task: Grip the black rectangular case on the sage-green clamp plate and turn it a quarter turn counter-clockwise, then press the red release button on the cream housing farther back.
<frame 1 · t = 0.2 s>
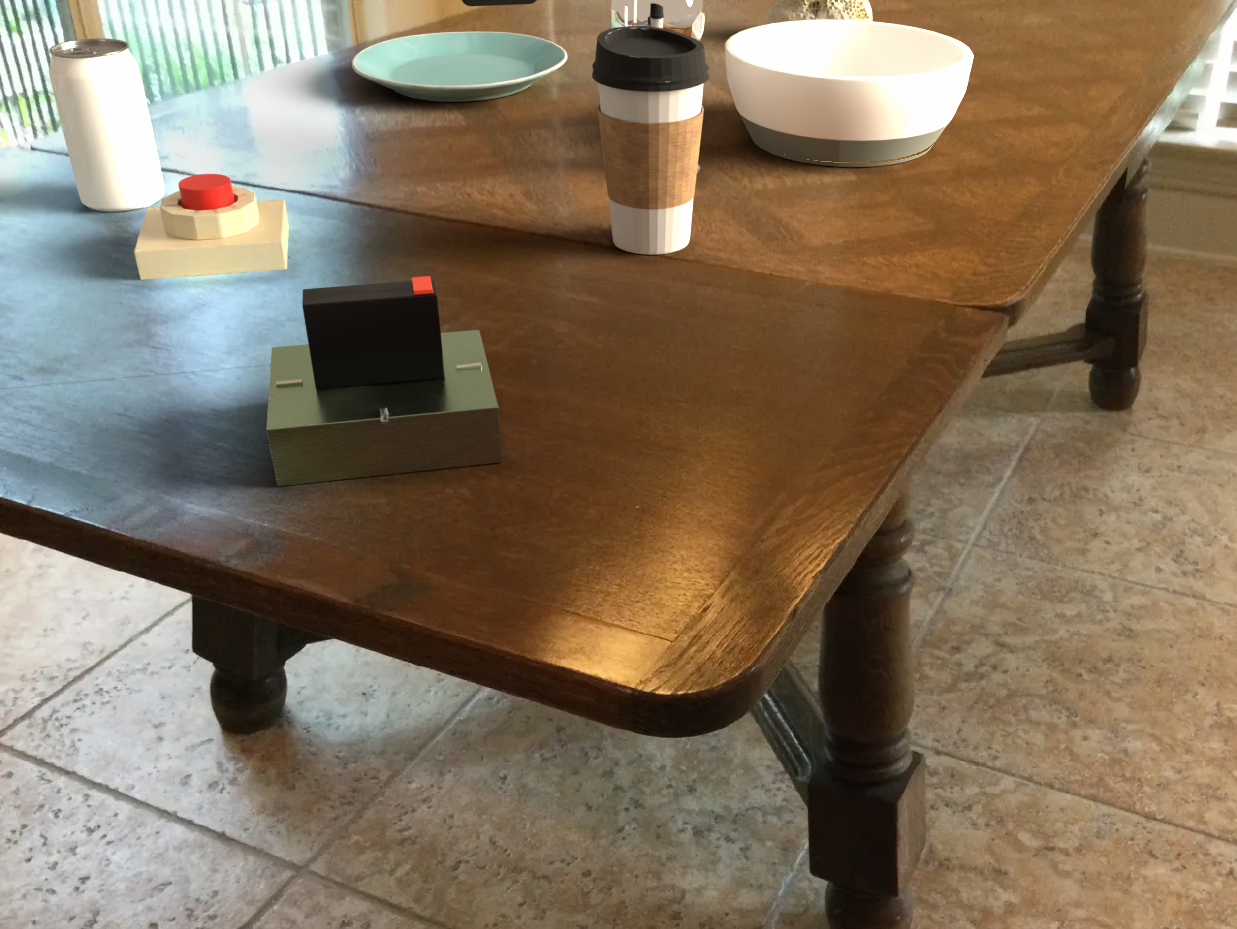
clamp plate: (387, 430, 75), on the table
wineglass: (657, 173, 114), on the table
release button: (206, 193, 94), point 4 cm above the table, slide at 0.1 cm
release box: (218, 252, 97), on the table
plate: (462, 84, 137), on the table
decorative item: (819, 43, 155), on the table
can: (125, 202, 106), on the table
black rectangular case: (374, 332, 71), point 6 cm above the table, hinge at 0.0°
bowl: (841, 140, 123), on the table
coffee cup: (651, 243, 100), on the table
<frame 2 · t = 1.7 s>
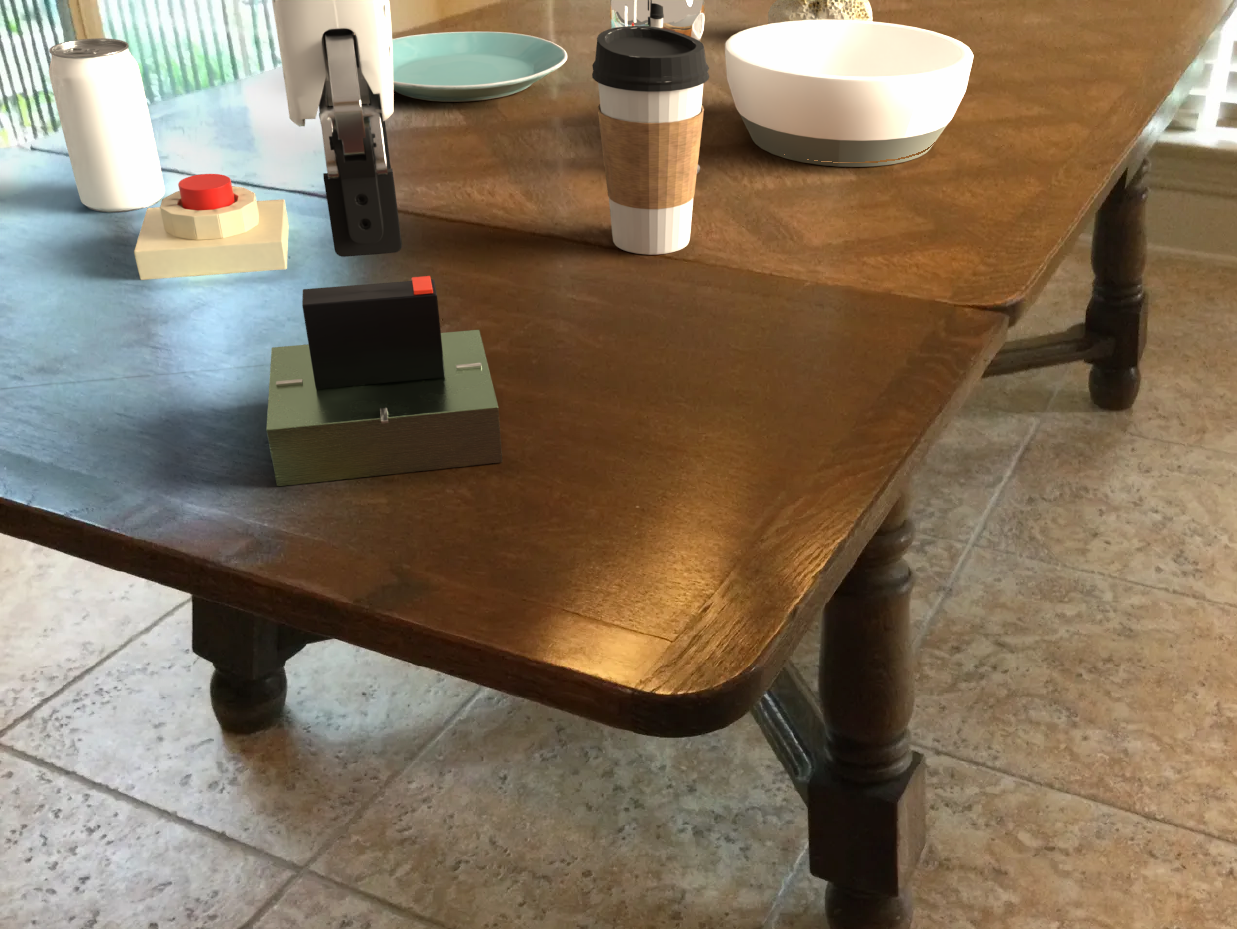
hand: (366, 218, 68), 13 cm above the table, tool pointing down, fingers open, 9 cm apart
nothing on the table moved.
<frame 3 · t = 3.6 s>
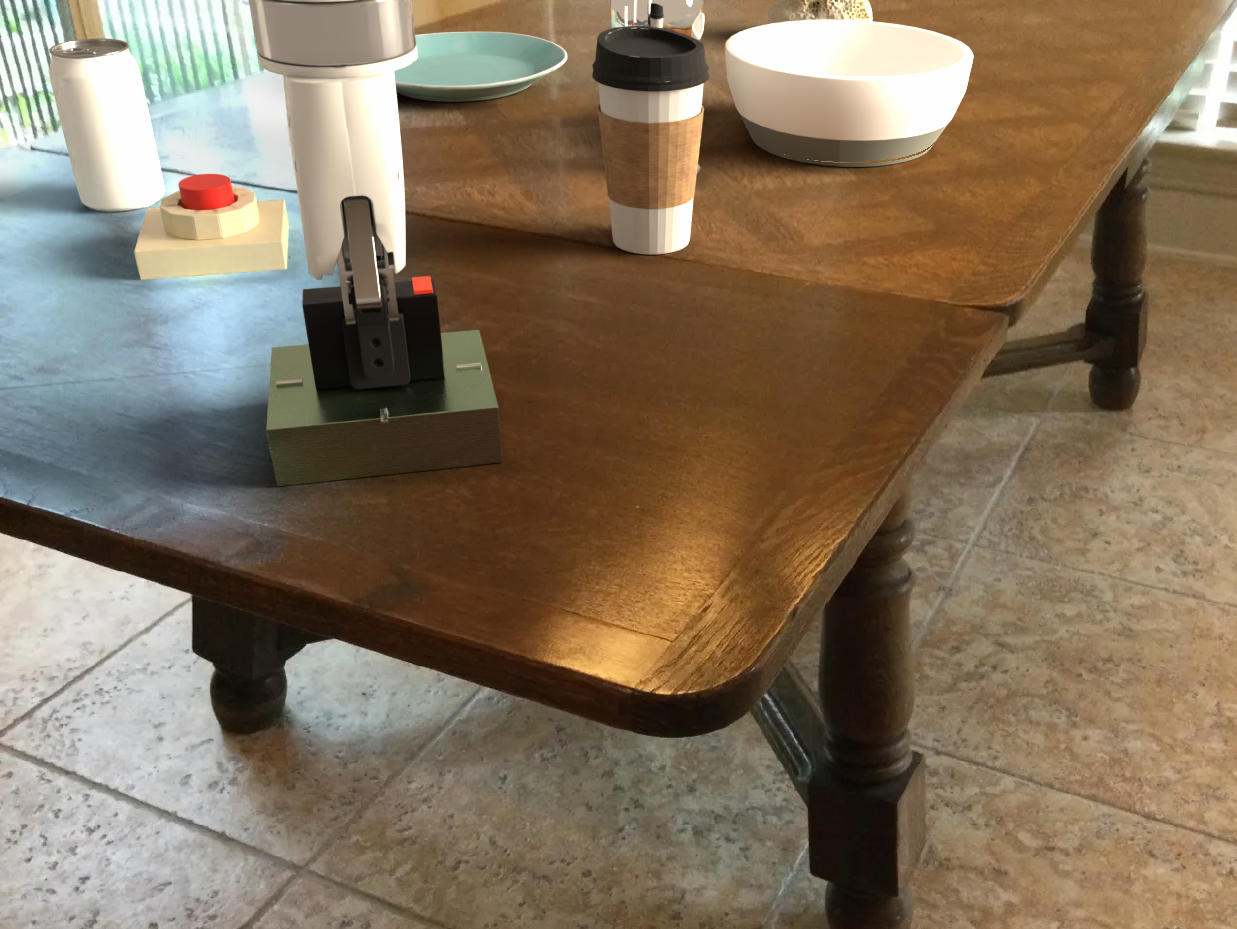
hand: (379, 369, 73), 4 cm above the table, tool pointing down, fingers closed on black rectangular case, 2 cm apart
black rectangular case: (374, 332, 71), point 6 cm above the table, hinge at 0.0°, touching gripper
everything else where it was.
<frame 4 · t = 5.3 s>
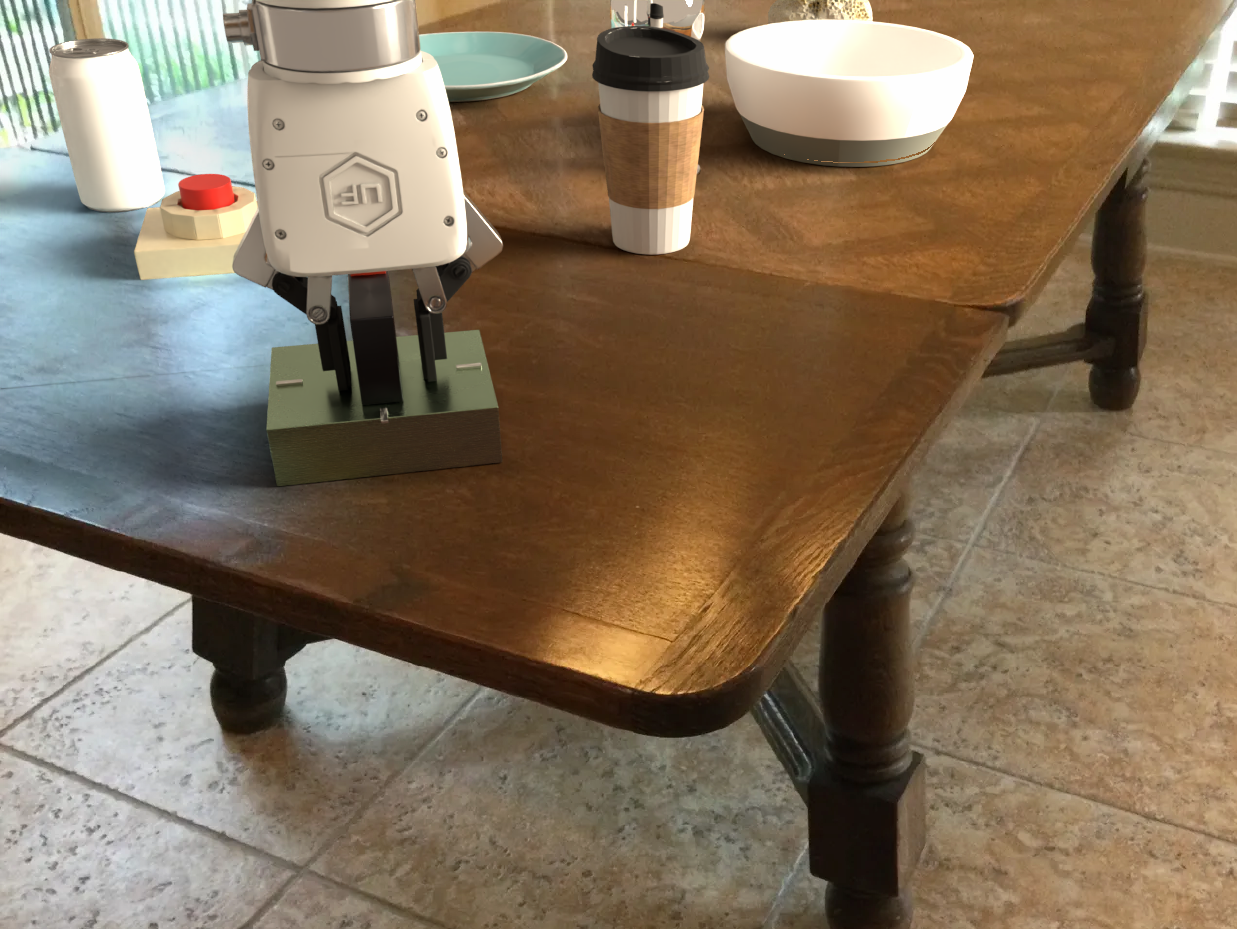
hand: (386, 372, 73), 4 cm above the table, tool pointing down, fingers open, 4 cm apart
black rectangular case: (374, 332, 71), point 6 cm above the table, hinge at 89.9°
everything else where it was.
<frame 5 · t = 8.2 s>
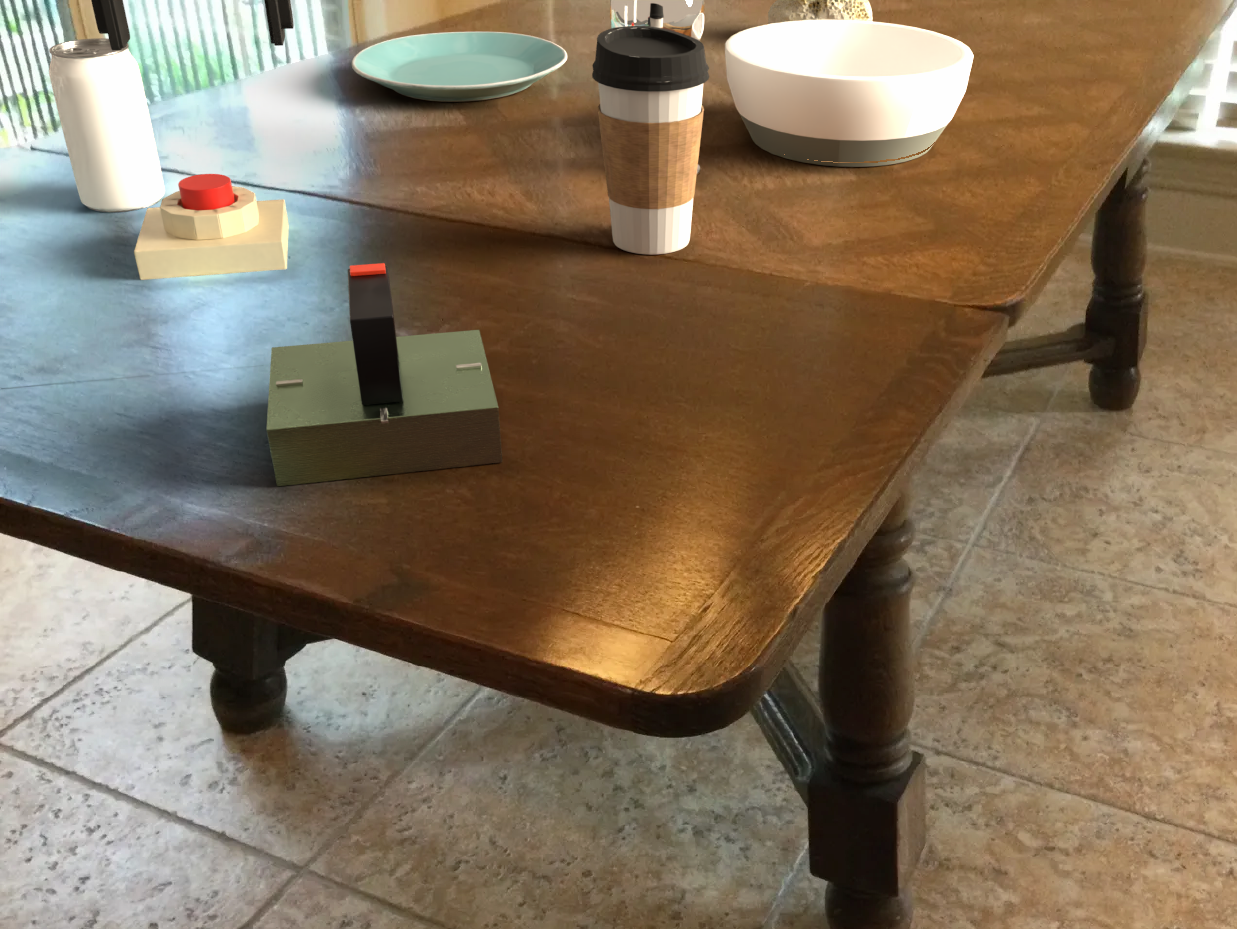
hand: (200, 43, 84), 16 cm above the table, tool pointing down, fingers open, 9 cm apart
nothing on the table moved.
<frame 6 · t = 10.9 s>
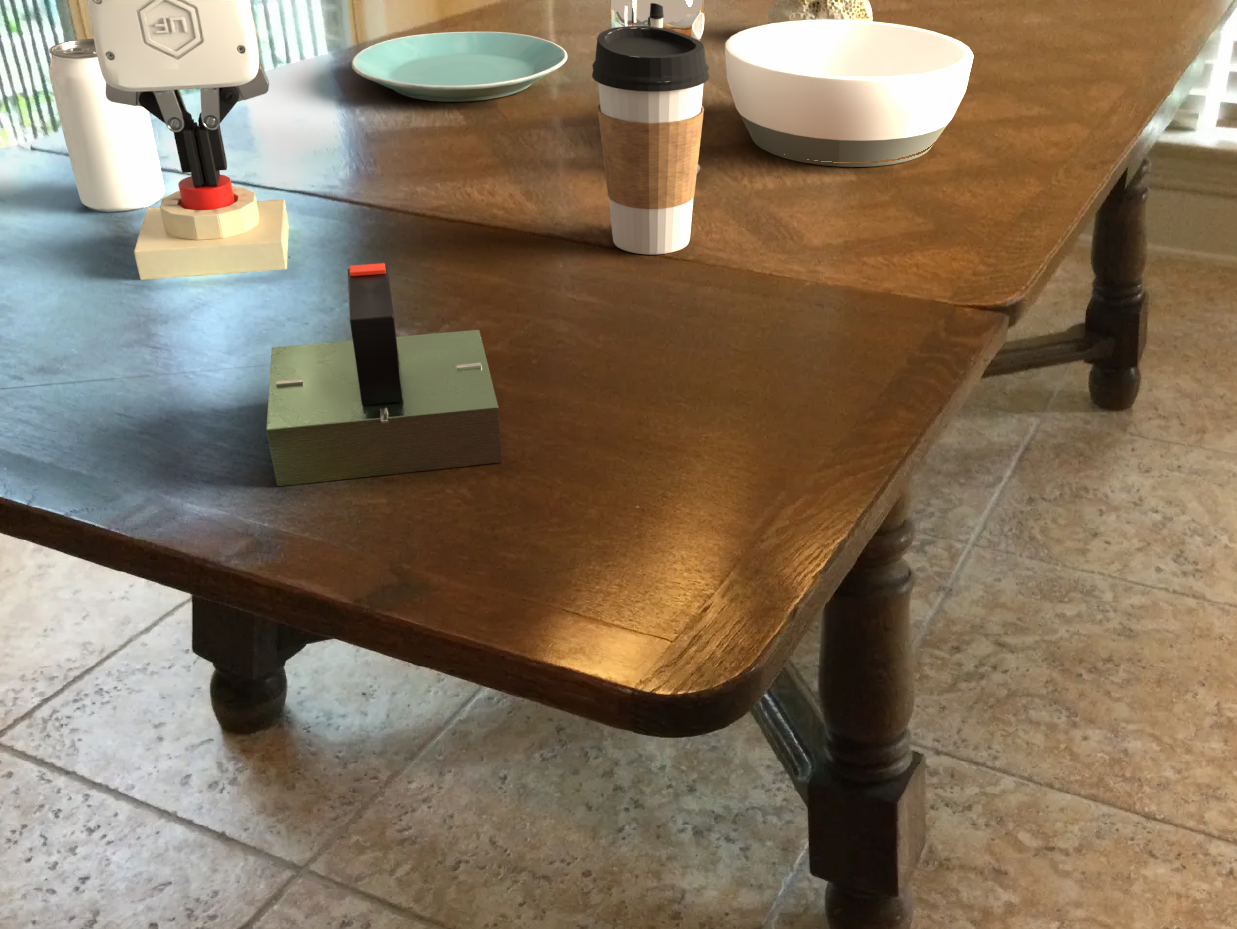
hand: (207, 180, 94), 5 cm above the table, tool pointing down, fingers closed
release button: (206, 193, 94), point 4 cm above the table, slide at 0.1 cm, touching gripper
everything else where it was.
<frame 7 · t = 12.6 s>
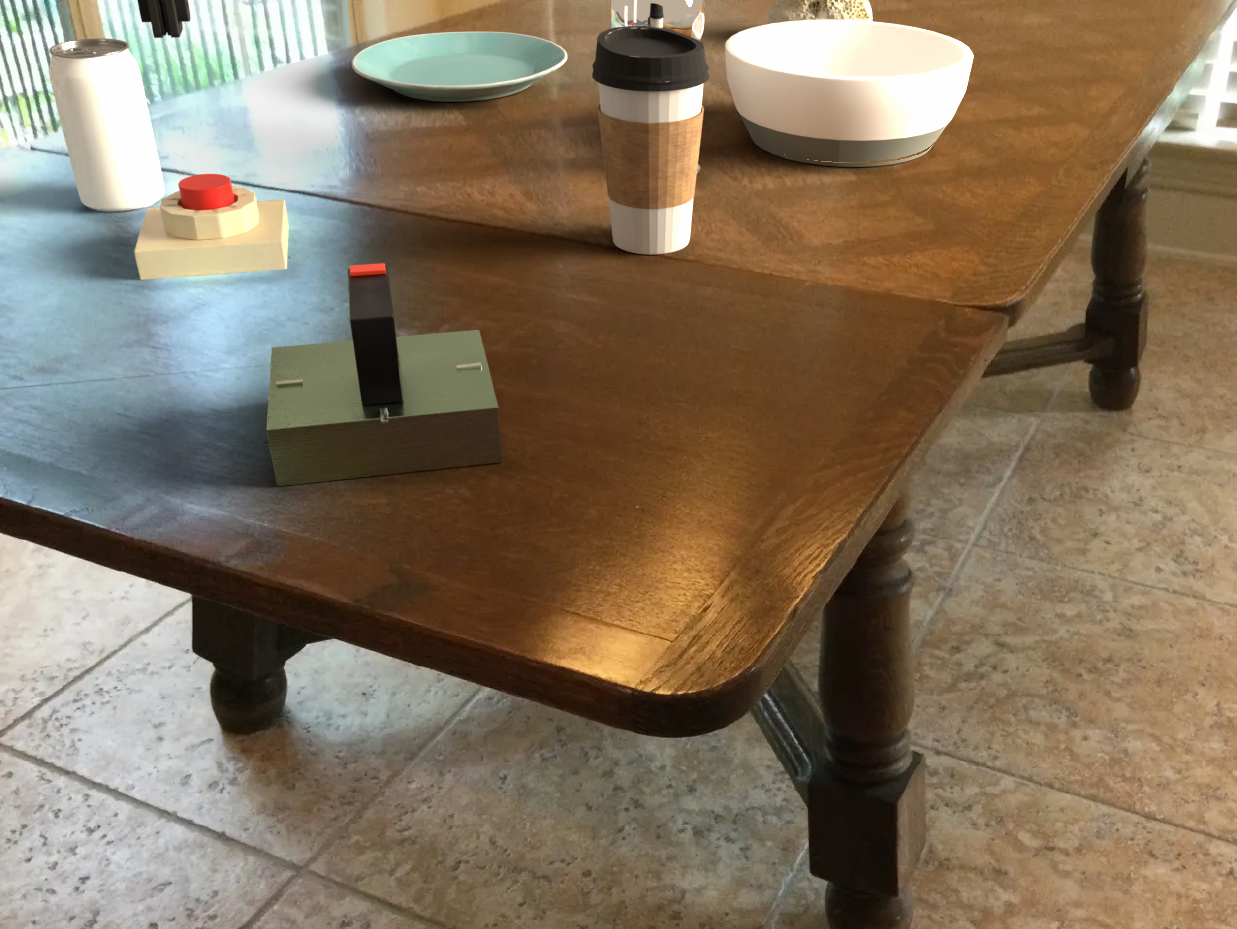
hand: (168, 32, 88), 16 cm above the table, tool pointing down, fingers closed
release button: (206, 193, 94), point 4 cm above the table, slide at 0.1 cm
everything else where it was.
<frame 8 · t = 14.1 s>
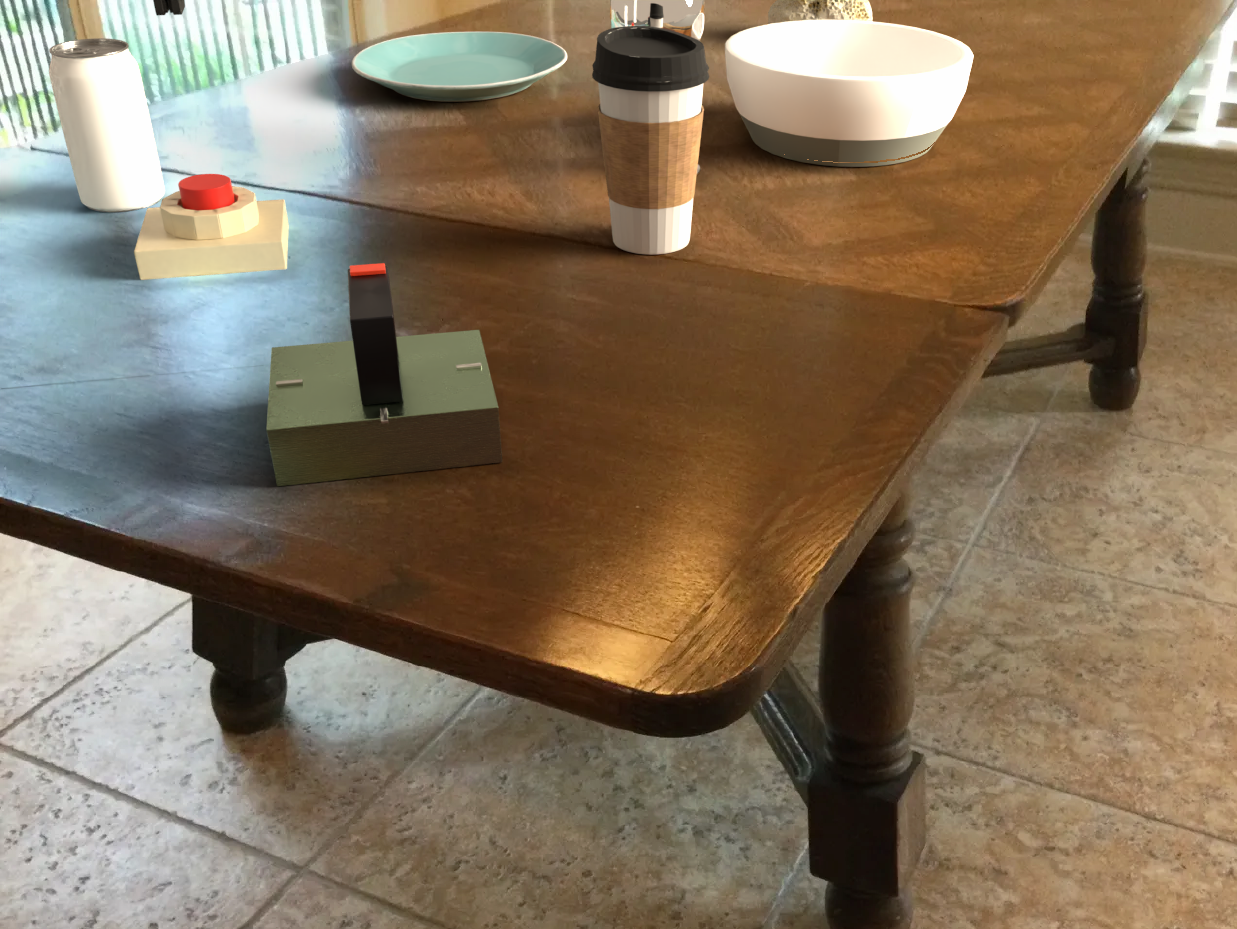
hand: (171, 10, 87), 17 cm above the table, tool pointing down, fingers closed
nothing on the table moved.
at the end: black rectangular case at +90° (first picture: +0°); release button pushed in 1.1 cm at the most during the clip, back to where it started at the end; release button slide at 0.1 cm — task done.
